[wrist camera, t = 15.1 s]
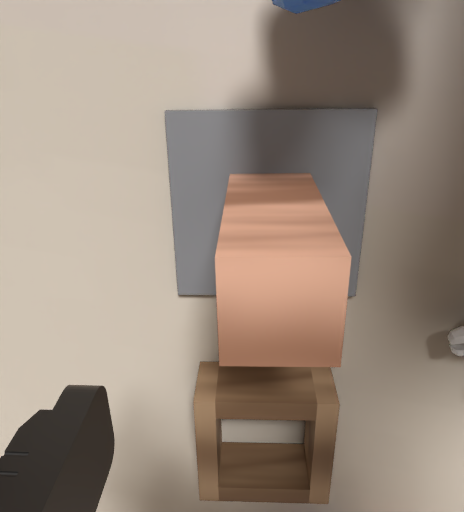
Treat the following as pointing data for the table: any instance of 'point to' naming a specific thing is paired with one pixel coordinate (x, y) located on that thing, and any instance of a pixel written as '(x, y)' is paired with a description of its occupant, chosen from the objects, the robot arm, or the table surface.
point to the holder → (265, 454)
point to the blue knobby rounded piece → (302, 4)
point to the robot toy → (457, 341)
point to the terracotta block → (280, 274)
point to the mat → (260, 162)
